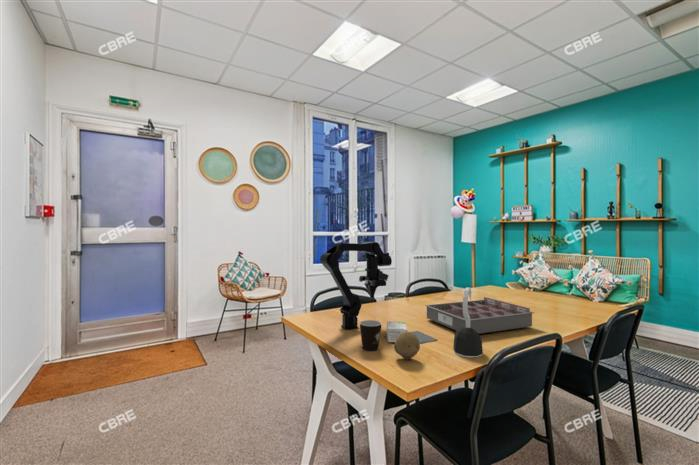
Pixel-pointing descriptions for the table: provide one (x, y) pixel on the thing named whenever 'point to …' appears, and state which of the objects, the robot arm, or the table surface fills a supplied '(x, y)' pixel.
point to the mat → (422, 337)
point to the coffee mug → (370, 334)
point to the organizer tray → (481, 315)
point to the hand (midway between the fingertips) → (372, 297)
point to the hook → (467, 334)
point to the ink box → (395, 330)
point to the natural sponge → (407, 345)
